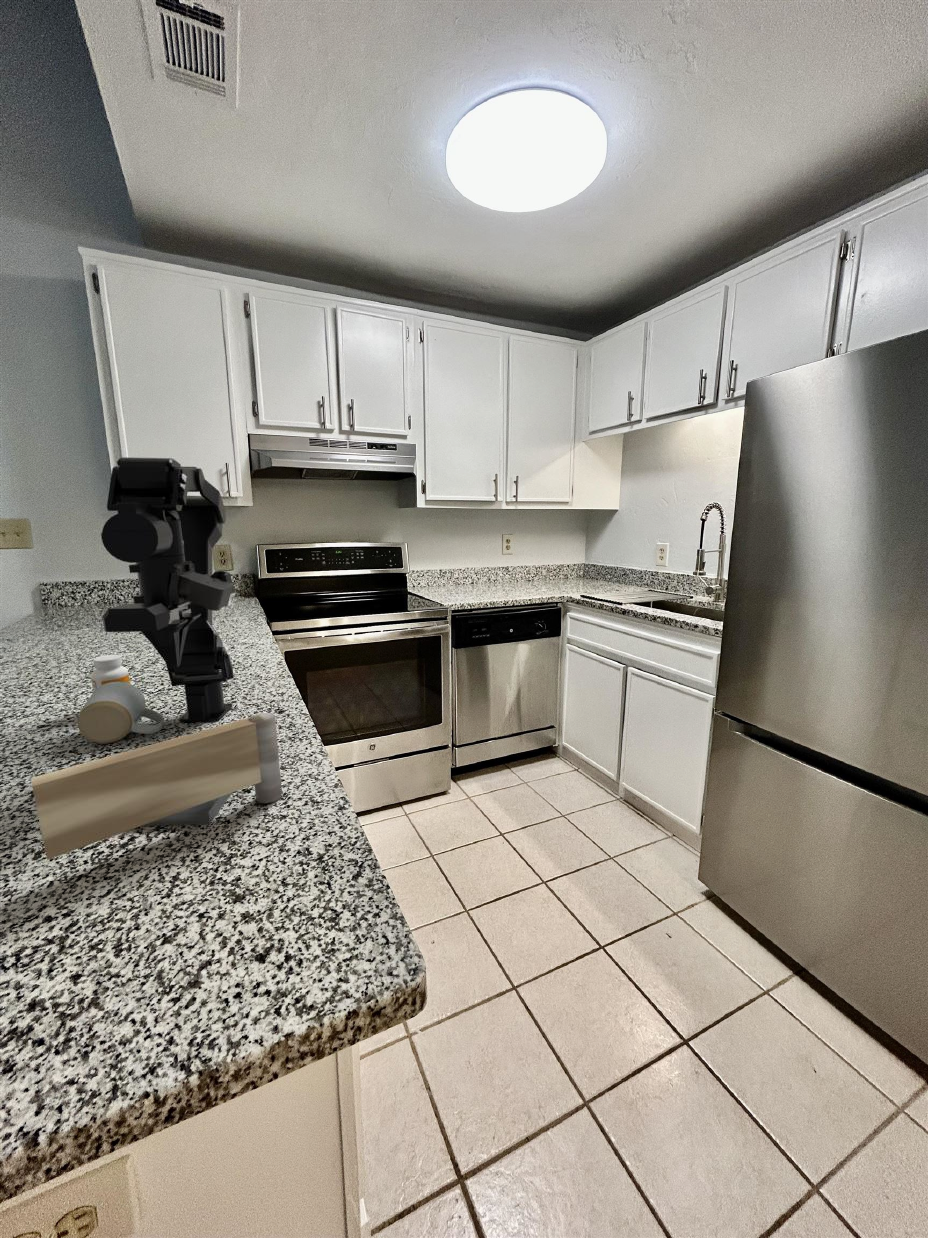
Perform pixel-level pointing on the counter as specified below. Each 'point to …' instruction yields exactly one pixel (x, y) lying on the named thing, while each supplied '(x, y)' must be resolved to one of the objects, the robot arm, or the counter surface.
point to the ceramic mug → (116, 713)
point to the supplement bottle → (108, 671)
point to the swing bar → (156, 782)
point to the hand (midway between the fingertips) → (174, 666)
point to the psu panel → (193, 814)
